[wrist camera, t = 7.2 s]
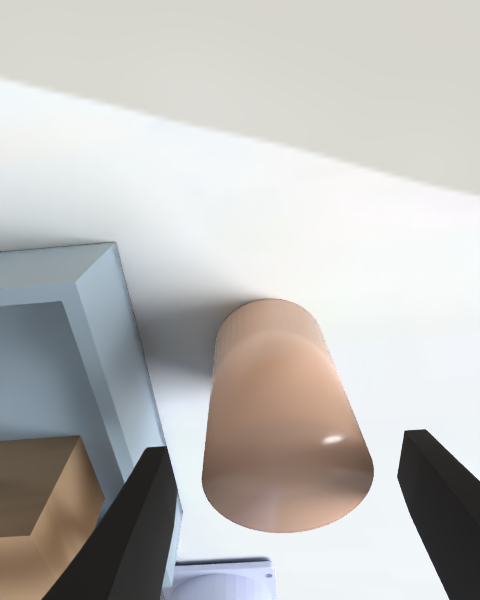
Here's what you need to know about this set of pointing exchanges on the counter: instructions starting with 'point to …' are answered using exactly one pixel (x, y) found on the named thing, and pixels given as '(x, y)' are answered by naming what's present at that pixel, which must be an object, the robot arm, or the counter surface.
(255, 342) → the terracotta cylinder
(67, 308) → the tote
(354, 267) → the counter surface
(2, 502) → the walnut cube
